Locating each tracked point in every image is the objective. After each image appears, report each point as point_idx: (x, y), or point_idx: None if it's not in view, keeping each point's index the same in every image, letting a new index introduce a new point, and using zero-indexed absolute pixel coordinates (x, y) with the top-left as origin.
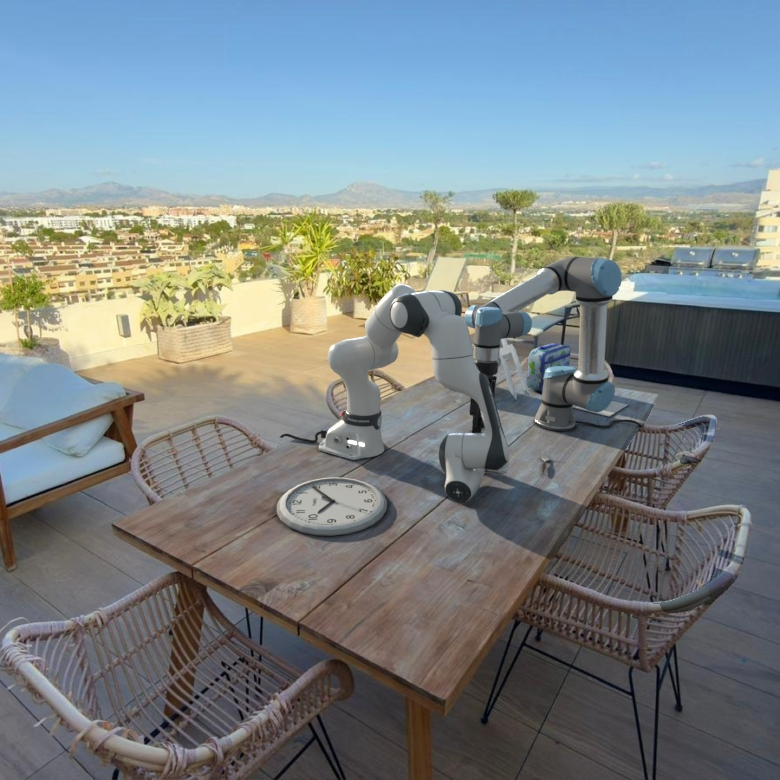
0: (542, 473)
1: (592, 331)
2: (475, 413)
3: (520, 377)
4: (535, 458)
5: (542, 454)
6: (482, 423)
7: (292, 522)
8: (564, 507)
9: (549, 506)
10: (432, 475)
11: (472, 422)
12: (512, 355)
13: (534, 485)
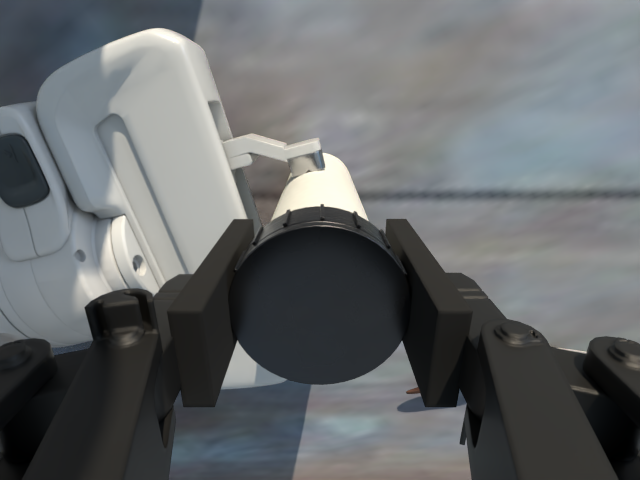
0: (406, 392)
1: None
2: (3, 450)
3: None
4: (545, 327)
5: (574, 350)
6: (249, 345)
7: None
8: (244, 475)
9: (221, 450)
10: (118, 37)
11: (284, 216)
12: None
13: (319, 388)
